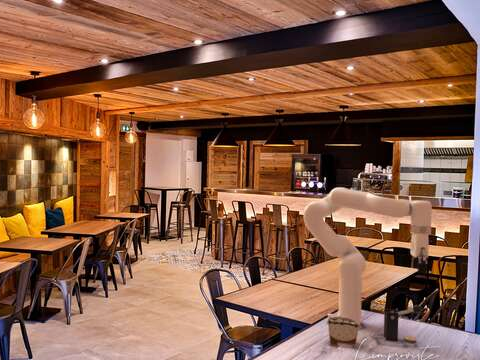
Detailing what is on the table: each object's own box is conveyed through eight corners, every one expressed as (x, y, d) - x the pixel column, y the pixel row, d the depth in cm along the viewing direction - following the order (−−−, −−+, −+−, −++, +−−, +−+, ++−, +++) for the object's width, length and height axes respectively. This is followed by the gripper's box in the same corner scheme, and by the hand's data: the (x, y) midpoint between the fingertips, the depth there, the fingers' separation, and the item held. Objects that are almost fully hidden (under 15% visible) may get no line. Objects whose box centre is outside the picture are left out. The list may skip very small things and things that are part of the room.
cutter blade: (421, 310, 187) (418, 303, 187) (423, 312, 184) (420, 305, 184) (388, 319, 190) (385, 311, 191) (389, 321, 187) (386, 313, 188)
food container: (358, 343, 187) (359, 318, 187) (359, 348, 181) (360, 323, 181) (325, 339, 191) (326, 315, 191) (326, 344, 185) (326, 319, 185)
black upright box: (402, 340, 191) (402, 309, 191) (406, 347, 184) (407, 315, 183) (375, 337, 194) (376, 307, 194) (378, 344, 186) (379, 312, 186)
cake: (404, 345, 185) (404, 338, 185) (402, 341, 190) (402, 334, 190) (417, 347, 184) (417, 340, 184) (414, 343, 188) (415, 336, 188)
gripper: (406, 227, 204) (405, 266, 204) (415, 231, 187) (414, 274, 187) (425, 228, 201) (424, 267, 202) (436, 232, 185) (435, 275, 185)
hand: (419, 270), depth 194 cm, fingers open, 9 cm apart
